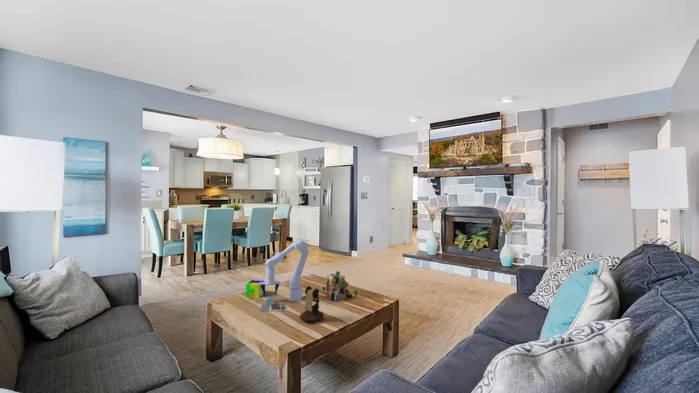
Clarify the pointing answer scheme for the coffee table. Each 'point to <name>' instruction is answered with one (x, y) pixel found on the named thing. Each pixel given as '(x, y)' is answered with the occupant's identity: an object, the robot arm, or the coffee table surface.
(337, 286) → the toy construction set
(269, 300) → the teal block
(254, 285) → the puzzle toy
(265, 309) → the grey flat plate
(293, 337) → the coffee table surface
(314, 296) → the wooden figurine on stand
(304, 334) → the coffee table surface
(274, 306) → the walnut block
